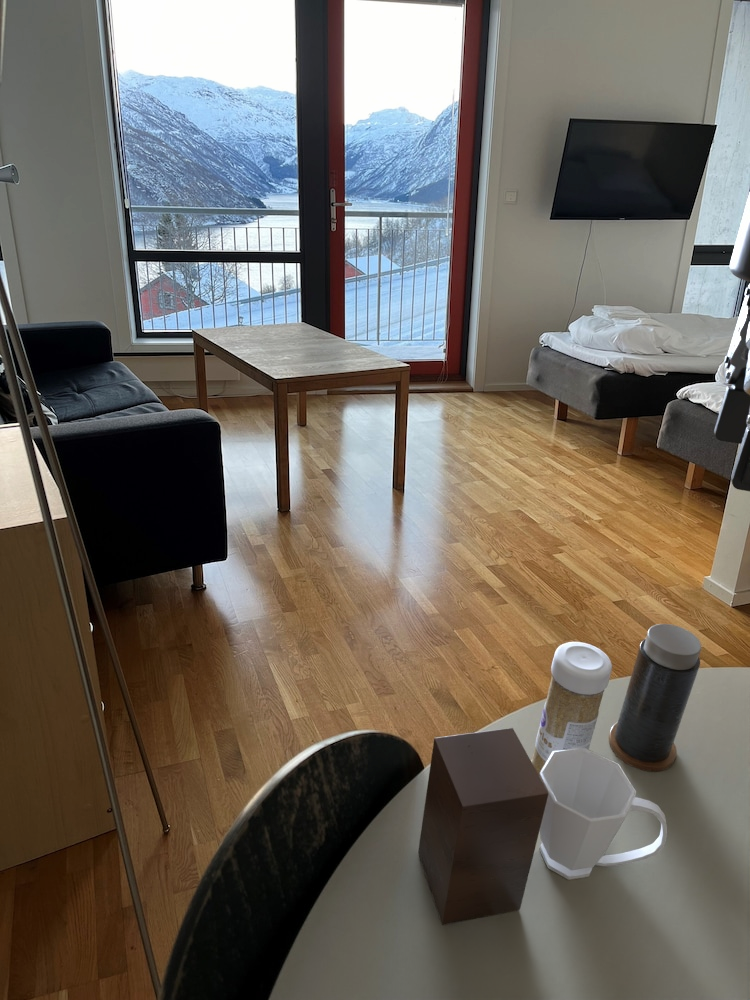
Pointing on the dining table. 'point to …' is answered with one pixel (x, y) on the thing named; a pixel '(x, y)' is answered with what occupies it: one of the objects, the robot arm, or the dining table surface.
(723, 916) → the dining table surface
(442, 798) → the walnut stand
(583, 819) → the cup
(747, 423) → the robot arm
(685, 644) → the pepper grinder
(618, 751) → the coaster
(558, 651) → the sprinkles bottle
